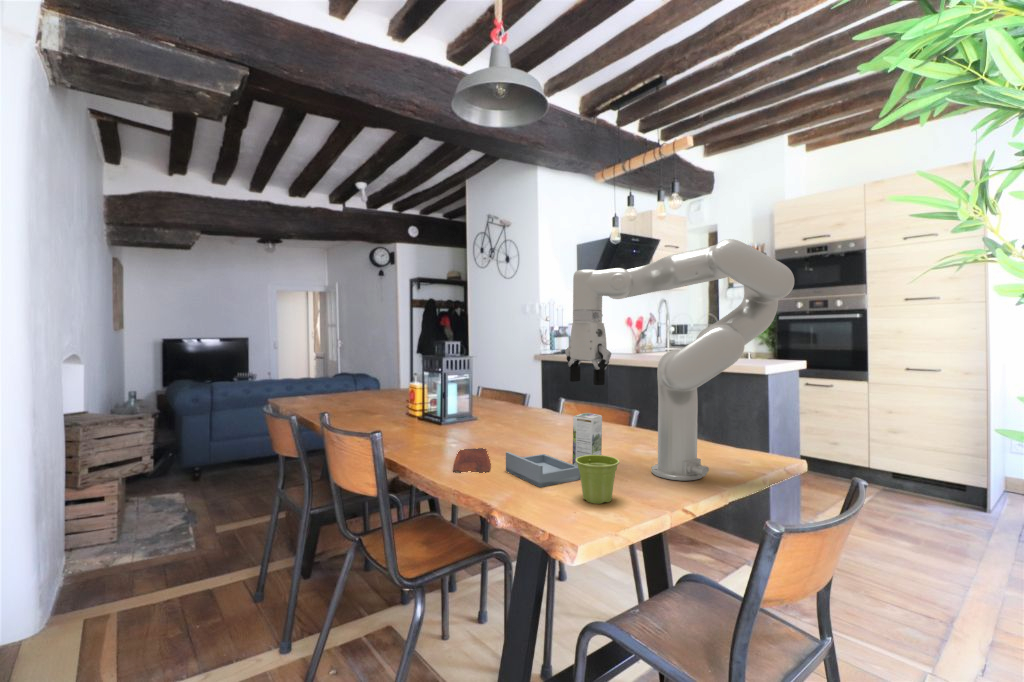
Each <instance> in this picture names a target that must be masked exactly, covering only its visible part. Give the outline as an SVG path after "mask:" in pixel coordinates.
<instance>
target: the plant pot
mask: <svg viewBox="0 0 1024 682" xmlns="http://www.w3.org/2000/svg"><path fill="white" fill-rule="evenodd" d="M576 463H577V464H578V469H579V471H580V485H581V491H582V497H583V500H586V502H587V503H591V504H599V505H601V504H603V503H610V502H611V501H612V500H613V492H614V483H615V475H616V471H617V468H618V466H619V464H620V460H619V458H616V457H614V456H609V455H602V454H601V455H585V456H580V457H578V458H576Z"/></svg>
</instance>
